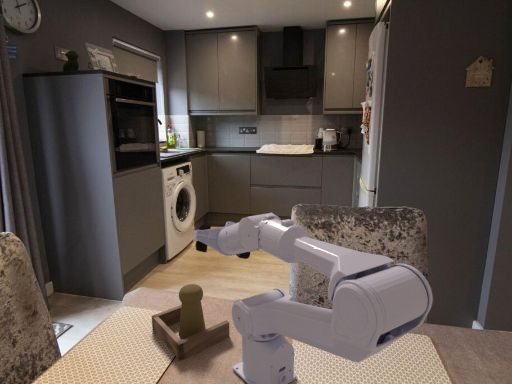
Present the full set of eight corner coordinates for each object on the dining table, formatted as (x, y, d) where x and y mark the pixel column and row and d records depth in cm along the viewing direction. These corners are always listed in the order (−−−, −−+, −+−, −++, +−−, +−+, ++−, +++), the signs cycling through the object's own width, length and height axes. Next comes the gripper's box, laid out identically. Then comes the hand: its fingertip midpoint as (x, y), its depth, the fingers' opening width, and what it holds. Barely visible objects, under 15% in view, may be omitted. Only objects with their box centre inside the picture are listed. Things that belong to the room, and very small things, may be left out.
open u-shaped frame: (229, 336, 74) (229, 322, 73) (179, 360, 66) (178, 344, 65) (199, 311, 83) (198, 298, 83) (152, 329, 76) (151, 315, 75)
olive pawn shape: (208, 325, 78) (207, 281, 75) (202, 341, 72) (200, 294, 70) (183, 323, 78) (181, 279, 76) (174, 339, 72) (172, 293, 70)
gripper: (271, 225, 70) (243, 233, 82) (206, 210, 64) (185, 222, 75) (269, 259, 68) (239, 263, 79) (201, 247, 62) (180, 254, 73)
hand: (213, 245), depth 77 cm, fingers open, 7 cm apart
